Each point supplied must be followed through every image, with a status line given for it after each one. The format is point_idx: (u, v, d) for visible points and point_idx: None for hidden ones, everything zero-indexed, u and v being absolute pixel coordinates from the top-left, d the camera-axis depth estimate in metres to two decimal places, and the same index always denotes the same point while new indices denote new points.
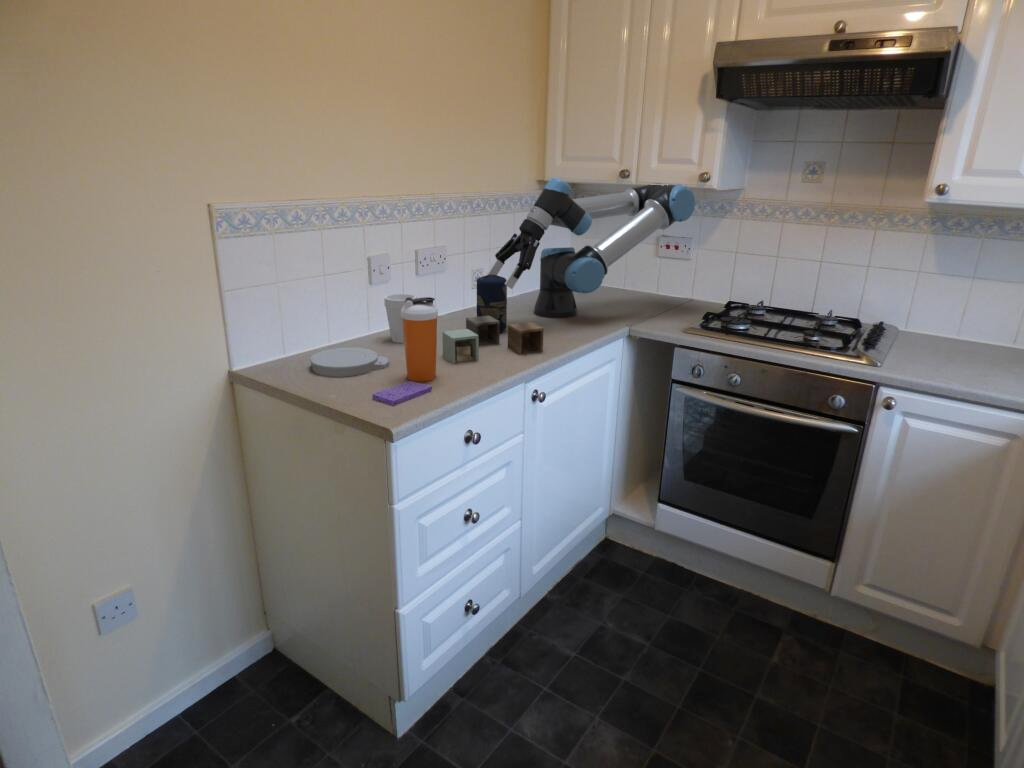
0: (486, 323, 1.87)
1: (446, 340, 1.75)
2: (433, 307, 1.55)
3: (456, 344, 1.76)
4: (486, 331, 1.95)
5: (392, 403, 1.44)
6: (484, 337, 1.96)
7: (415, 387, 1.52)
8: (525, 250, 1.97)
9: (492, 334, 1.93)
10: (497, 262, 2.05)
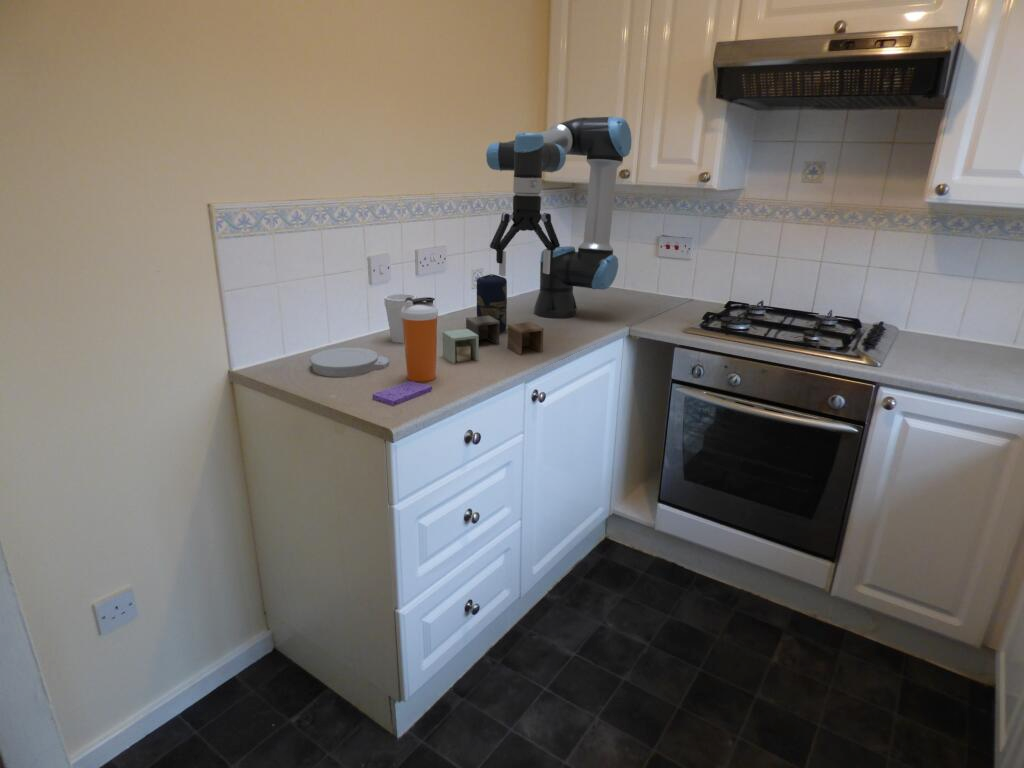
0: (486, 323, 1.87)
1: (446, 340, 1.75)
2: (433, 307, 1.55)
3: (456, 344, 1.76)
4: (486, 331, 1.95)
5: (392, 403, 1.44)
6: (484, 337, 1.96)
7: (415, 386, 1.52)
8: None
9: (492, 334, 1.93)
10: None
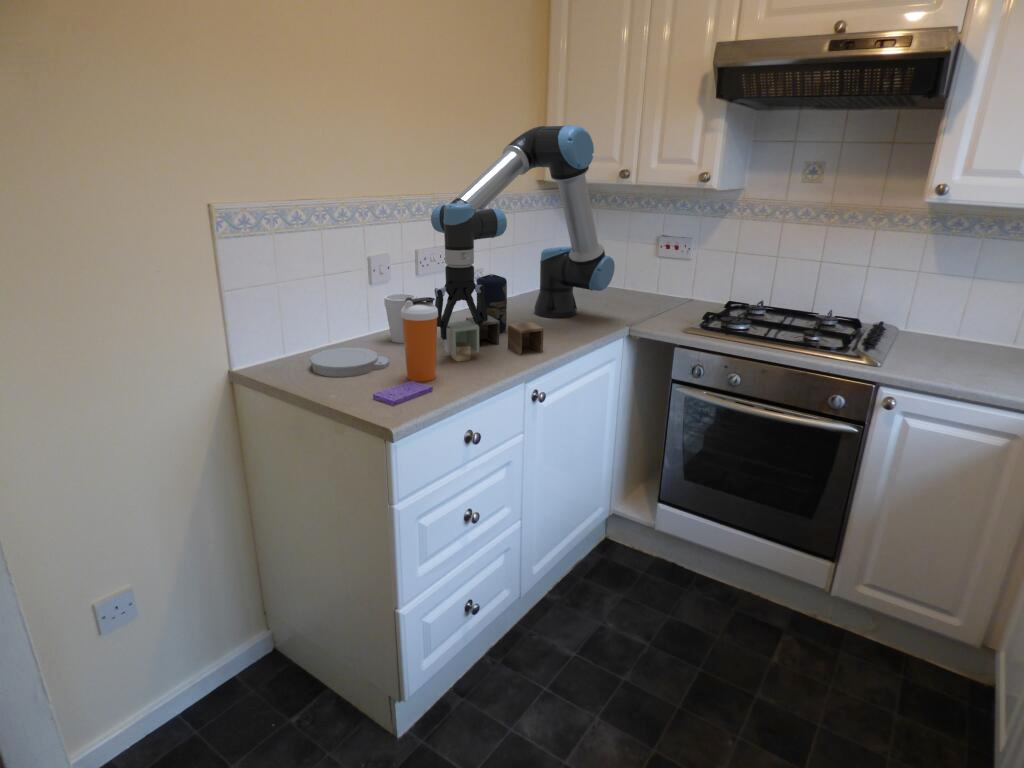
0: (486, 323, 1.87)
1: None
2: (433, 307, 1.55)
3: (456, 344, 1.76)
4: (486, 331, 1.95)
5: (392, 403, 1.43)
6: (484, 337, 1.96)
7: (416, 387, 1.52)
8: None
9: (492, 334, 1.93)
10: None
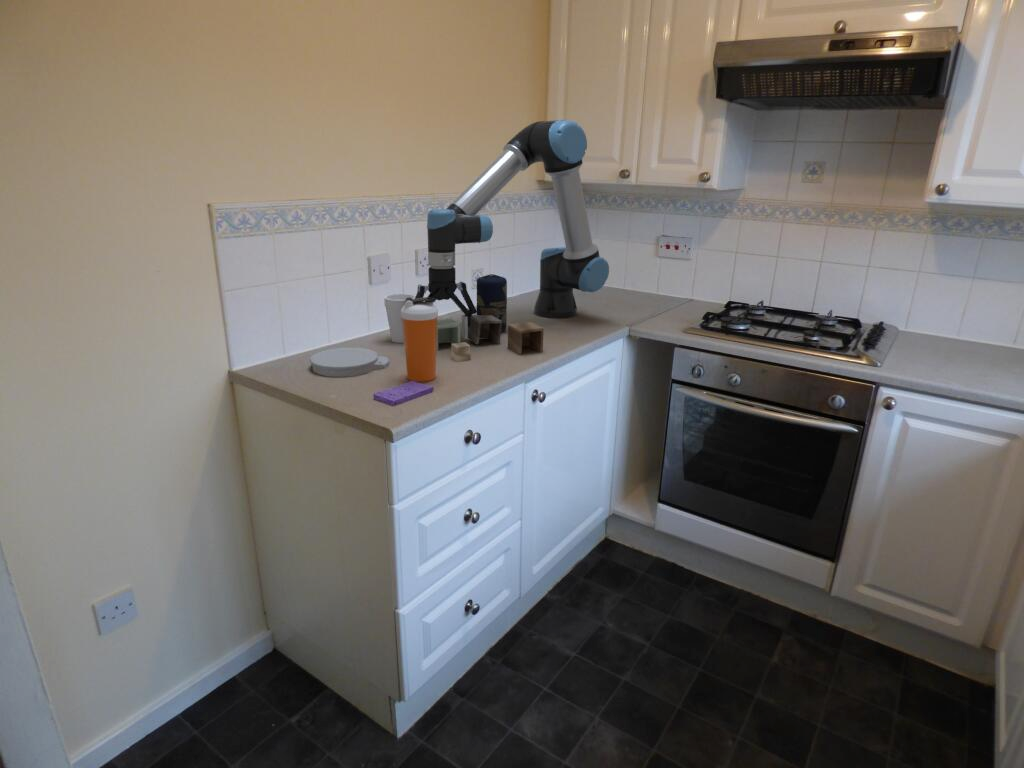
0: (489, 321, 1.87)
1: None
2: (433, 307, 1.55)
3: (456, 344, 1.76)
4: (487, 331, 1.96)
5: (392, 403, 1.43)
6: (484, 336, 1.96)
7: (416, 387, 1.52)
8: (456, 297, 1.85)
9: (493, 334, 1.93)
10: None
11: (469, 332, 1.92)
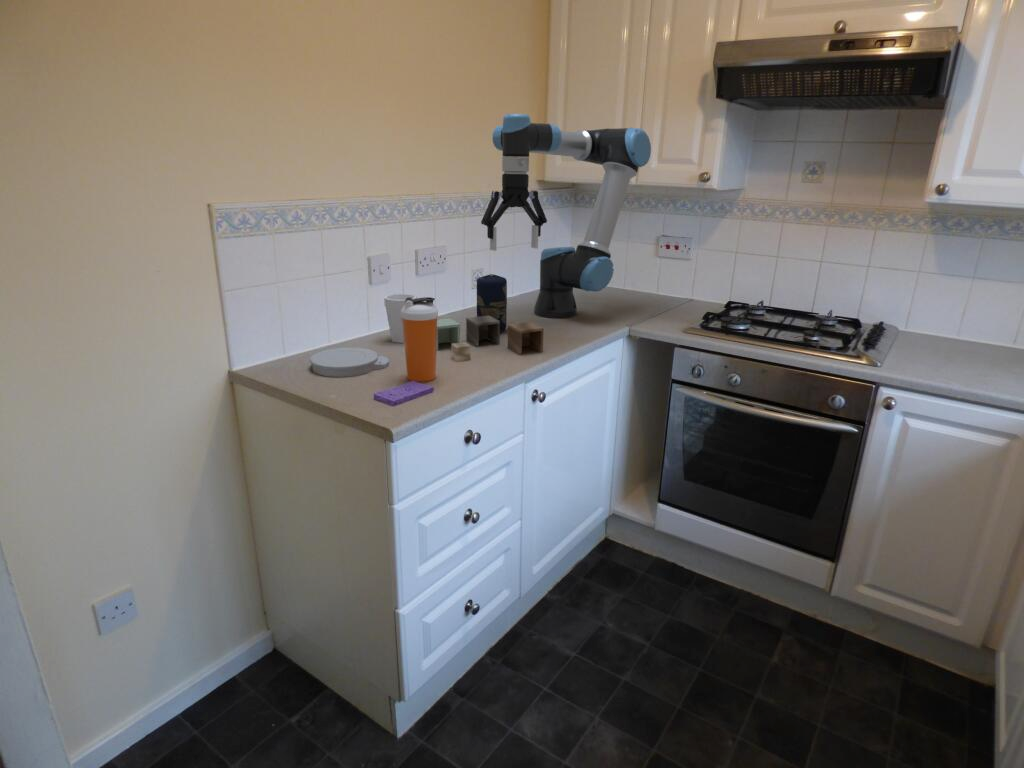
0: (486, 323, 1.87)
1: None
2: (433, 307, 1.55)
3: (456, 344, 1.76)
4: (486, 331, 1.95)
5: (392, 403, 1.43)
6: (484, 337, 1.96)
7: (417, 387, 1.52)
8: None
9: (492, 334, 1.93)
10: None
11: (468, 335, 1.92)
